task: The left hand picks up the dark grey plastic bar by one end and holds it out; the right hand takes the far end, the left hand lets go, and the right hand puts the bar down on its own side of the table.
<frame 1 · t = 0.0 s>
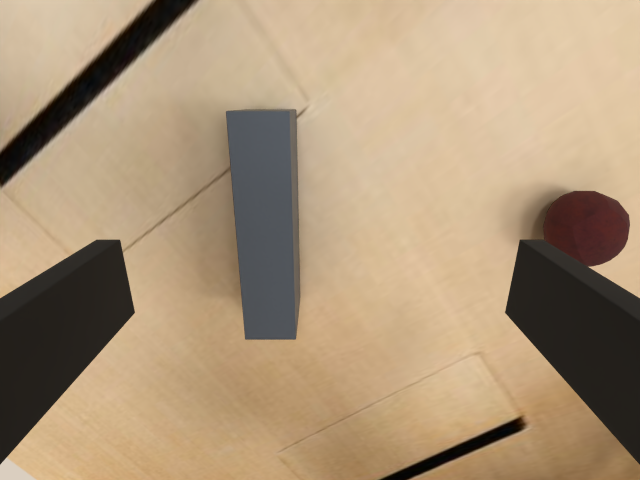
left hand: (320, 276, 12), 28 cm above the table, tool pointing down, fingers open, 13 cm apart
dark red ball: (562, 216, 41), on the table
bar: (275, 212, 41), on the table
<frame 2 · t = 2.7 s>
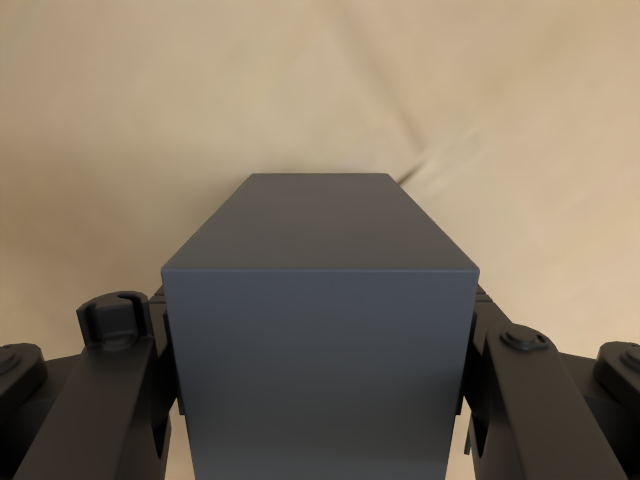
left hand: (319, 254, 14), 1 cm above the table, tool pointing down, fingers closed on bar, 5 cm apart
bar: (320, 400, 17), on the table, touching left hand
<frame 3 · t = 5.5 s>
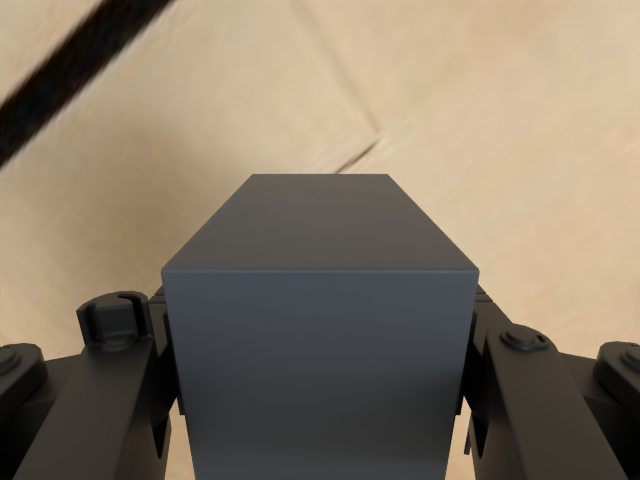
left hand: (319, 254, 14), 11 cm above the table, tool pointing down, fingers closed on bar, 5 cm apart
bar: (320, 400, 17), point 10 cm above the table, touching left hand
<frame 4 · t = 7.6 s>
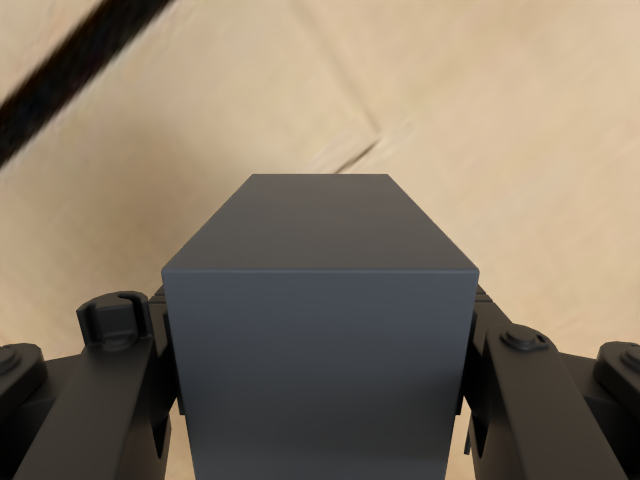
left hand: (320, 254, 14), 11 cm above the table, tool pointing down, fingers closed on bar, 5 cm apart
bar: (319, 400, 17), point 10 cm above the table, touching left hand, right hand
when the left hand's fingers open (11 cm above the table, at t = 8.2 s): bar stays where it is, held by the right hand.
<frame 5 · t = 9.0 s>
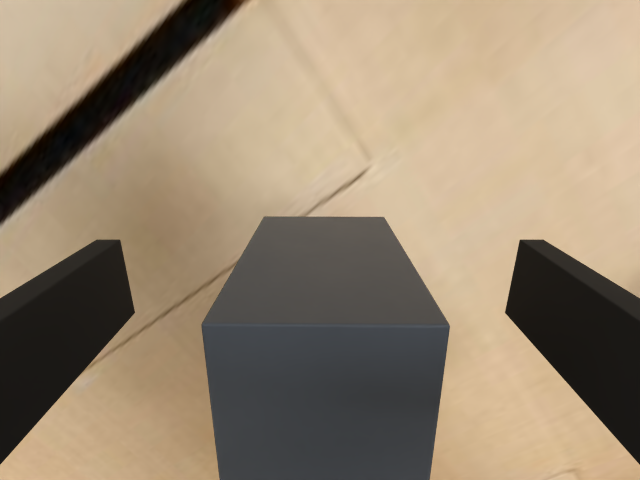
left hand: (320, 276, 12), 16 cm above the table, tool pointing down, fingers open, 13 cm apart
bar: (322, 419, 19), point 12 cm above the table, touching right hand
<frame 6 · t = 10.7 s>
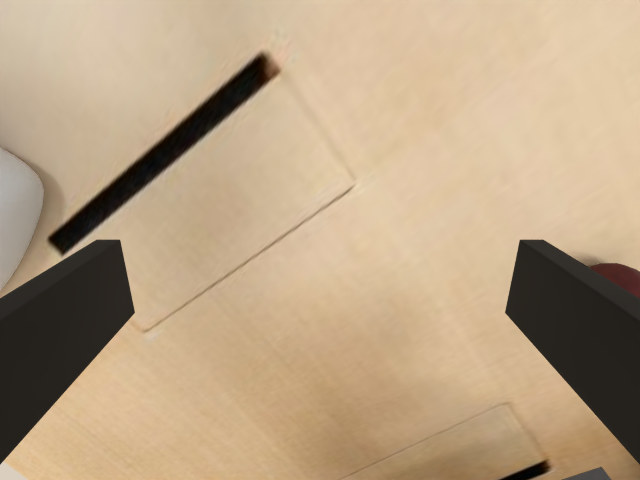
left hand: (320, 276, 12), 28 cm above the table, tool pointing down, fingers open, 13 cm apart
dark red ball: (590, 282, 43), on the table
when the right hand's fingers open (2 cm above the table, at t = 12.1 s): bar drops 1 cm, on the table.
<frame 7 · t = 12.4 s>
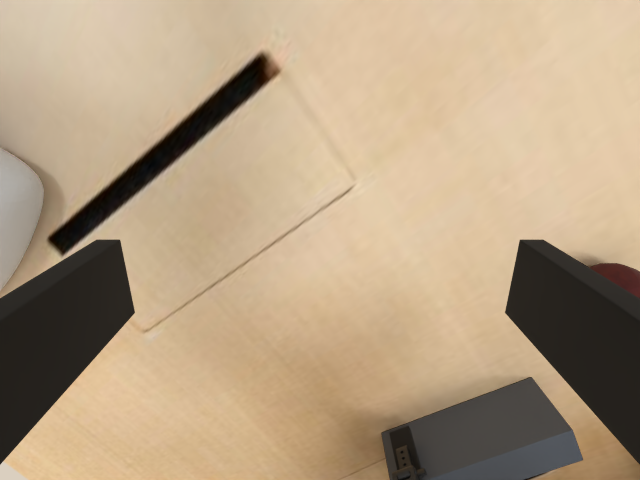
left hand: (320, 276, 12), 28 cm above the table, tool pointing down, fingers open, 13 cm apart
dark red ball: (590, 282, 43), on the table
bar: (459, 418, 50), on the table
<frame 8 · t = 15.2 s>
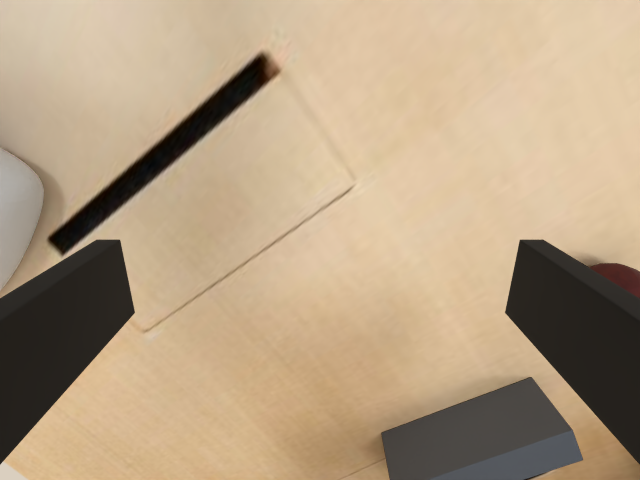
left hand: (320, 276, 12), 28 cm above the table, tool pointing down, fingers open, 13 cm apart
dark red ball: (590, 282, 43), on the table
bar: (459, 418, 50), on the table
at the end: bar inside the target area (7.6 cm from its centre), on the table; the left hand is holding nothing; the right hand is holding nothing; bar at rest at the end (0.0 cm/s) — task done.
